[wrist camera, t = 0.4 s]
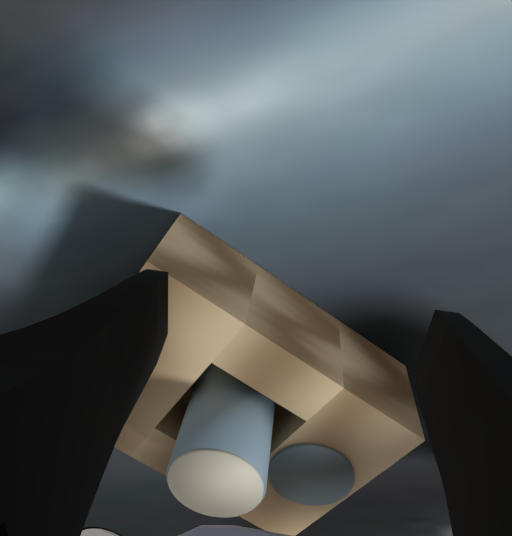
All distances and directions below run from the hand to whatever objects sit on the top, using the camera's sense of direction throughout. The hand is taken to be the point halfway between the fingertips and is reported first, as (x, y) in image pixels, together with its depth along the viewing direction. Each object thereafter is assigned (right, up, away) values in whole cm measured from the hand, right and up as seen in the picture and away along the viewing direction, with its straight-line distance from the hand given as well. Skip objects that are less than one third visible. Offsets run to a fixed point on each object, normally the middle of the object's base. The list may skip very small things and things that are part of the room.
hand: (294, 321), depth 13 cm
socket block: (-2, -3, +13) cm, 13 cm away
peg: (-2, -5, +10) cm, 11 cm away
